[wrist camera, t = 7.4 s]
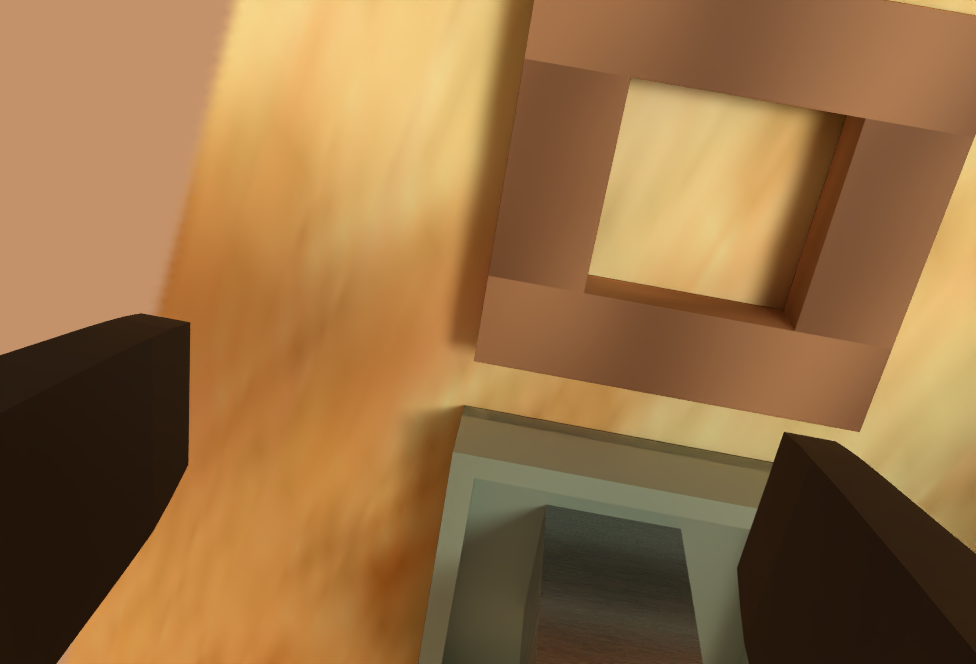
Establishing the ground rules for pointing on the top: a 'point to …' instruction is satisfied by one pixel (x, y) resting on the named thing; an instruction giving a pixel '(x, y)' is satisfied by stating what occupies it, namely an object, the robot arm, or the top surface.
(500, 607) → the tray
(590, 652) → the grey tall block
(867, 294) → the collar
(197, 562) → the top surface
